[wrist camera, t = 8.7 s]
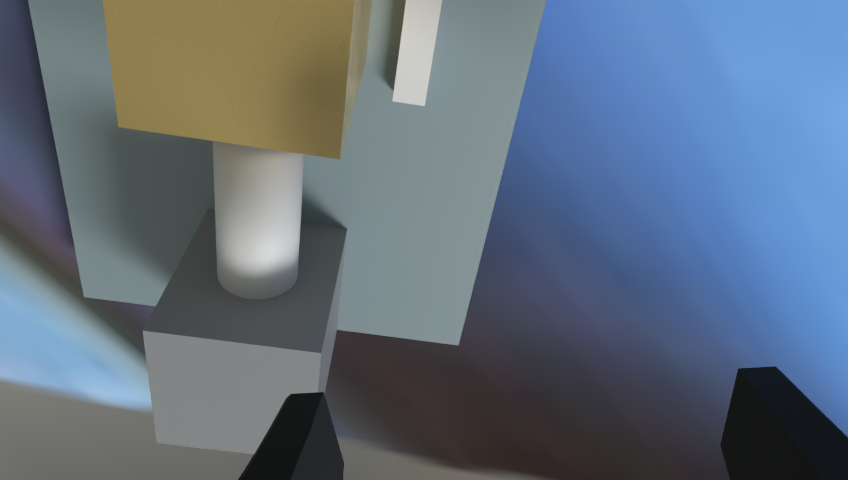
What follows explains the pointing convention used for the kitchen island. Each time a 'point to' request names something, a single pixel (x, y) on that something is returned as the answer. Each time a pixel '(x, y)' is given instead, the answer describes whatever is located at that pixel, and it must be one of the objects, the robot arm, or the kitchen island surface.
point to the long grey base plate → (289, 211)
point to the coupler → (240, 69)
